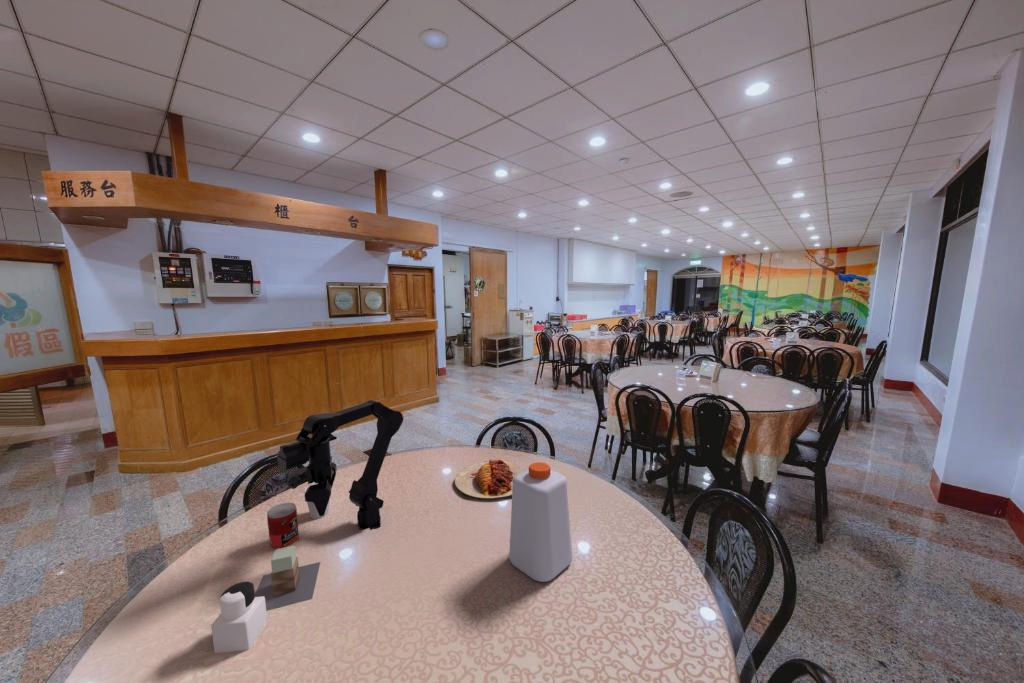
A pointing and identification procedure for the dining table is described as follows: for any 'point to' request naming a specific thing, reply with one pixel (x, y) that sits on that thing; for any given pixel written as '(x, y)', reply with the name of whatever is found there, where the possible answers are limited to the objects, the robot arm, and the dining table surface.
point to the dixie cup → (313, 510)
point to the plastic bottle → (540, 523)
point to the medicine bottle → (238, 619)
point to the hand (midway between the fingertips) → (324, 507)
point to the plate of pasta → (489, 478)
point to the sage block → (283, 559)
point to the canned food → (283, 525)
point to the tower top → (285, 575)
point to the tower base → (286, 586)
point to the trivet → (301, 594)
